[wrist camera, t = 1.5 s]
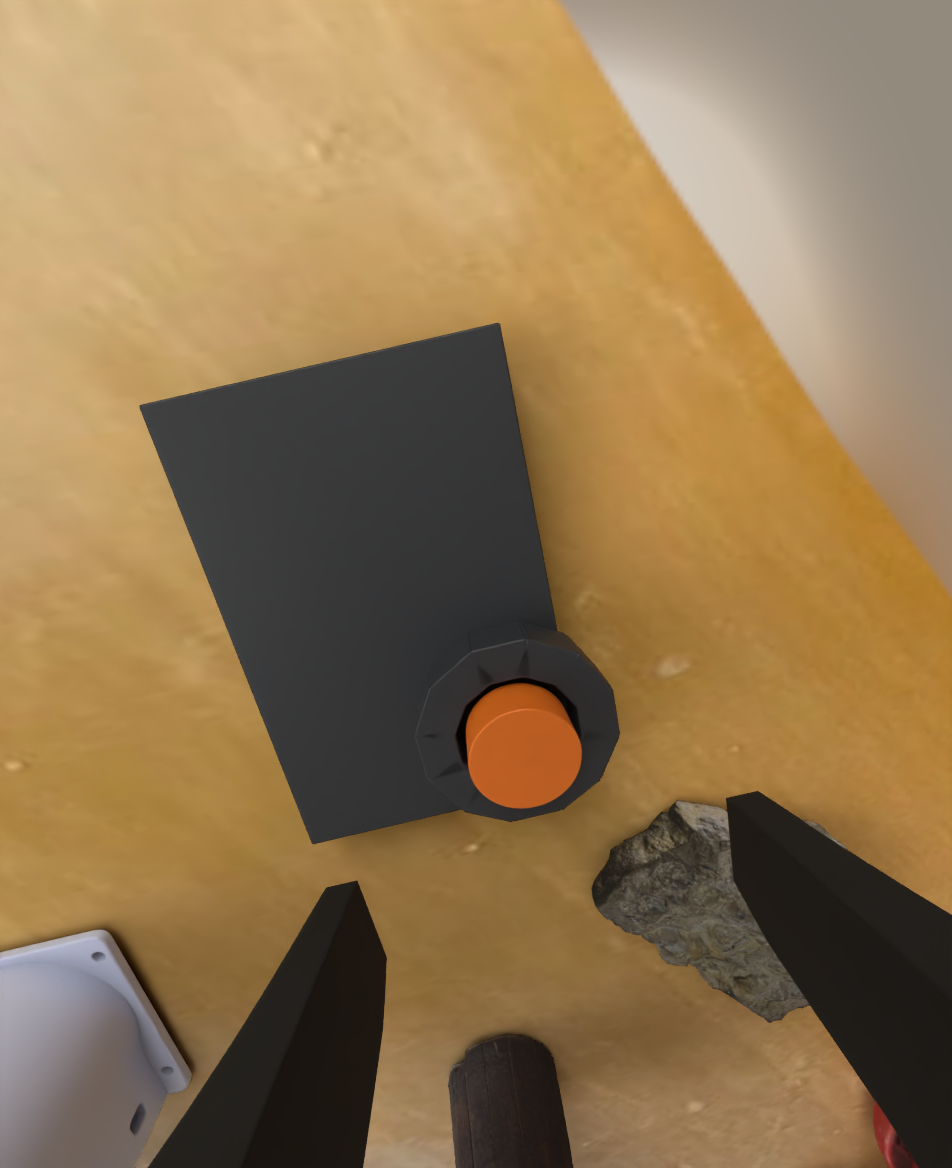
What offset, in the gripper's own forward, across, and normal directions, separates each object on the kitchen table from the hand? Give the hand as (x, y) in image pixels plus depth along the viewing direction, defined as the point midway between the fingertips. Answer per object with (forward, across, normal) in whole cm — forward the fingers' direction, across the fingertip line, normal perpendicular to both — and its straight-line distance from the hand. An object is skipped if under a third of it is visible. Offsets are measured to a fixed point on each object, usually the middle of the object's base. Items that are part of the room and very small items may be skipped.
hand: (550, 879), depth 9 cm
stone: (+9, -8, +13) cm, 18 cm away
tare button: (+6, 0, 0) cm, 6 cm away
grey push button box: (+9, +3, -4) cm, 10 cm away
